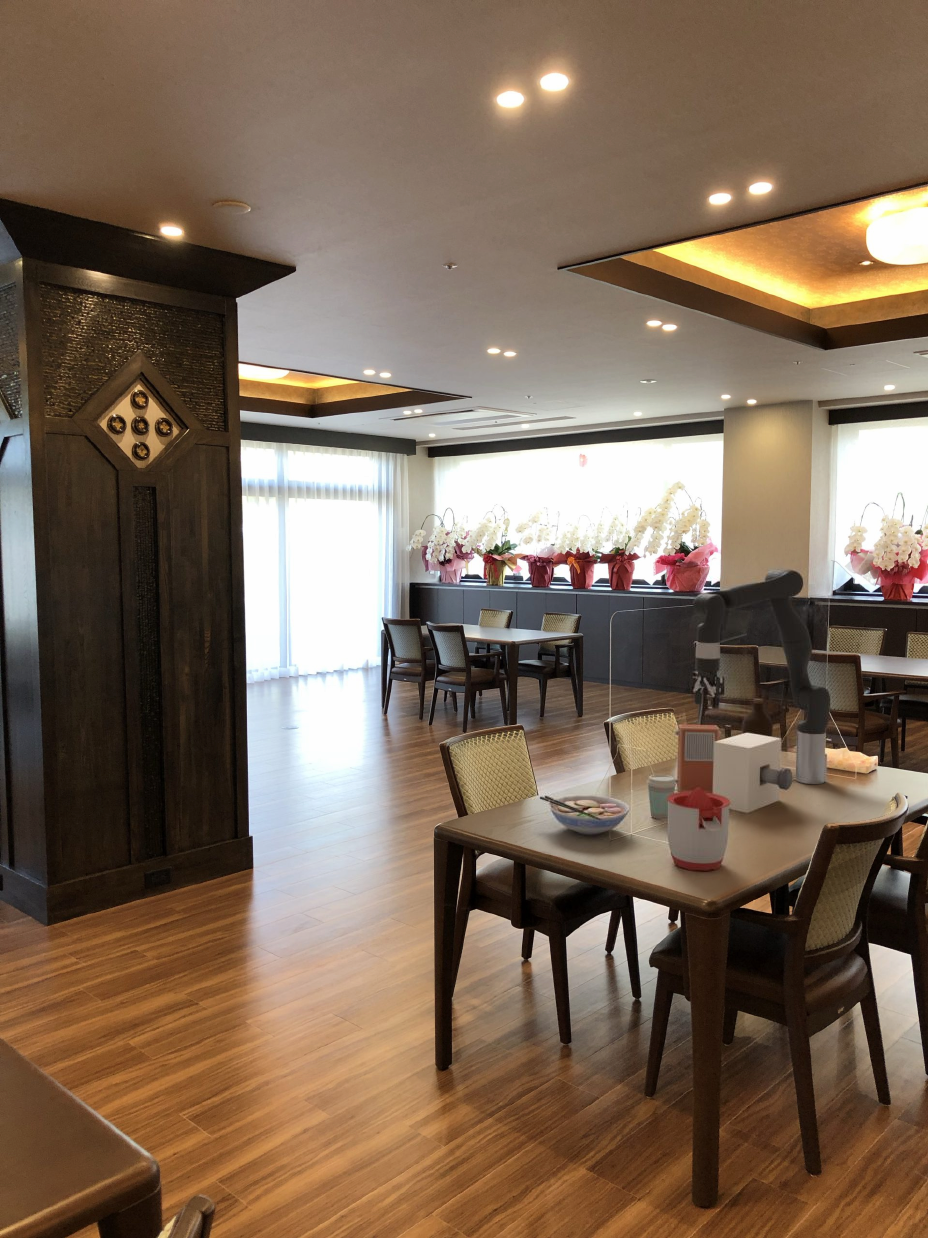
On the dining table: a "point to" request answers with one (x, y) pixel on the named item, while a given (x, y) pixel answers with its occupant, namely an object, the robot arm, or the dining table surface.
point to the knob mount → (746, 770)
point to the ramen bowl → (588, 812)
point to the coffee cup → (660, 794)
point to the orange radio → (696, 756)
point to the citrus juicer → (697, 829)
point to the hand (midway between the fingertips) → (706, 706)
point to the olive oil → (757, 721)
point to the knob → (776, 777)
